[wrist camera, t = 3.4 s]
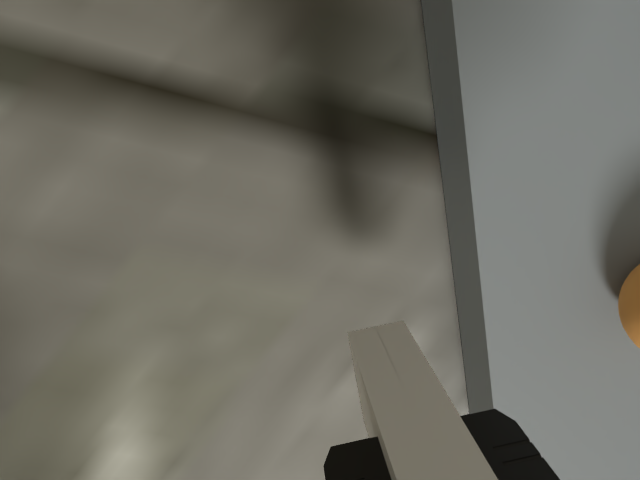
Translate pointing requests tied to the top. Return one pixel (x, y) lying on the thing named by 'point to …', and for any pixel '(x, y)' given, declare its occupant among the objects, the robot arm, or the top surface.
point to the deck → (544, 216)
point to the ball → (631, 305)
